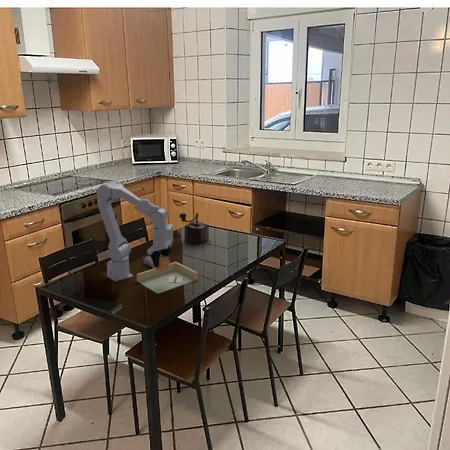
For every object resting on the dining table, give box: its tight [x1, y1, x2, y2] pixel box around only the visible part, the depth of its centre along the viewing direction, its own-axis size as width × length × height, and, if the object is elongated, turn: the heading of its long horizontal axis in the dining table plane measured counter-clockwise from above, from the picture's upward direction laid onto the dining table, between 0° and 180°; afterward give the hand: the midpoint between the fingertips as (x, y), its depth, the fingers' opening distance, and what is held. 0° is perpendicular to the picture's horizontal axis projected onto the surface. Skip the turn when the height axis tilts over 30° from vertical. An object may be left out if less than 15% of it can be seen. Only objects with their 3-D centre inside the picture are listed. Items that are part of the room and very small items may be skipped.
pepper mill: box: [179, 212, 210, 246], centre depth 248 cm, size 16×11×18 cm
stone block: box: [143, 255, 171, 269], centre depth 218 cm, size 12×5×10 cm
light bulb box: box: [166, 223, 174, 248], centre depth 243 cm, size 11×7×11 cm, turn 178°
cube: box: [152, 255, 170, 271], centre depth 197 cm, size 5×5×5 cm
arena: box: [136, 261, 198, 294], centre depth 201 cm, size 22×16×4 cm
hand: (160, 264), depth 197 cm, fingers closed on cube, 5 cm apart
